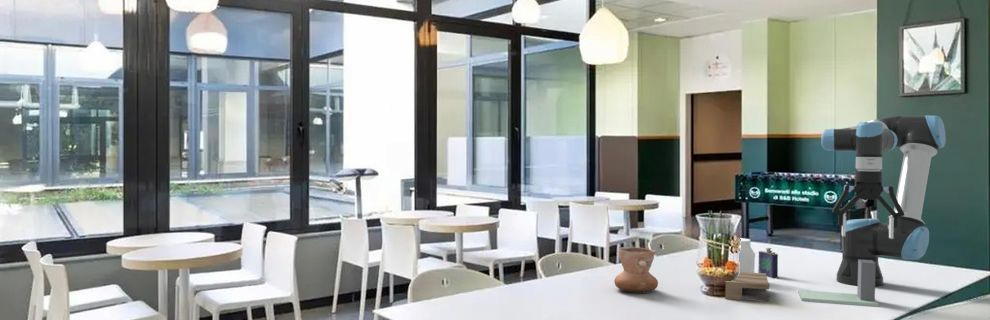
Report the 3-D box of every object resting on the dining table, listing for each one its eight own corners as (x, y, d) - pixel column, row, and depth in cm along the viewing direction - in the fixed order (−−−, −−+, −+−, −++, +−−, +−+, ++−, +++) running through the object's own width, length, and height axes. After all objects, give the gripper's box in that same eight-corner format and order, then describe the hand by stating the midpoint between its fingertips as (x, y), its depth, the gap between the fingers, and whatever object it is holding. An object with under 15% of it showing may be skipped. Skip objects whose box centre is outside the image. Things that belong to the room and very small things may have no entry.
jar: (730, 283, 253) (731, 241, 253) (716, 278, 262) (717, 237, 262) (759, 282, 256) (760, 240, 255) (744, 277, 265) (745, 237, 265)
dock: (725, 286, 247) (726, 270, 247) (765, 289, 243) (766, 273, 243) (725, 298, 228) (725, 281, 228) (768, 301, 224) (768, 284, 224)
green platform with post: (797, 293, 238) (798, 254, 238) (870, 298, 231) (871, 258, 231) (801, 301, 226) (802, 260, 226) (878, 307, 219) (879, 265, 219)
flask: (756, 273, 272) (757, 246, 271) (762, 273, 273) (763, 245, 272) (773, 278, 263) (774, 249, 263) (780, 278, 264) (780, 249, 264)
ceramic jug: (664, 296, 230) (665, 253, 230) (620, 296, 230) (621, 252, 230) (649, 286, 248) (650, 245, 248) (608, 285, 248) (609, 245, 248)
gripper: (827, 169, 225) (825, 236, 226) (916, 171, 217) (914, 240, 218) (824, 169, 232) (822, 233, 233) (910, 170, 224) (908, 237, 225)
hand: (867, 237), depth 225 cm, fingers open, 13 cm apart
